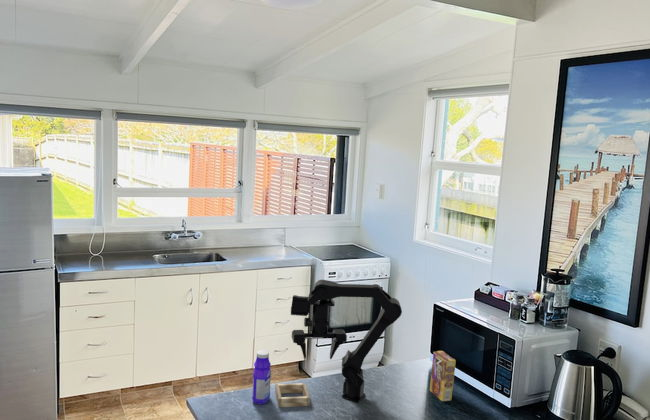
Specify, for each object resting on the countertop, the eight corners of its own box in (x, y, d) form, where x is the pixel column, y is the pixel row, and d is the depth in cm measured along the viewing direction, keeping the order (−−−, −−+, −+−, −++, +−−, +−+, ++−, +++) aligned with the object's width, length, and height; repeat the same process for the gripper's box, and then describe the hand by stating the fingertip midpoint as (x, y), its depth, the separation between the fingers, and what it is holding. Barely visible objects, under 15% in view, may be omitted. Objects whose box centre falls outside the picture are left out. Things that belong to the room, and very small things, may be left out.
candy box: (452, 400, 198) (456, 360, 196) (442, 402, 196) (446, 361, 194) (439, 389, 206) (443, 350, 204) (429, 390, 205) (432, 351, 202)
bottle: (265, 406, 186) (267, 357, 184) (249, 403, 187) (251, 355, 185) (272, 396, 193) (274, 349, 191) (256, 394, 194) (258, 346, 192)
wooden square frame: (304, 391, 199) (305, 383, 198) (309, 405, 188) (309, 397, 188) (275, 392, 196) (275, 384, 196) (278, 407, 186) (278, 398, 186)
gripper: (341, 308, 202) (338, 349, 205) (290, 309, 199) (288, 350, 201) (348, 319, 192) (345, 362, 194) (294, 320, 188) (292, 363, 190)
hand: (317, 359), depth 195 cm, fingers open, 9 cm apart
